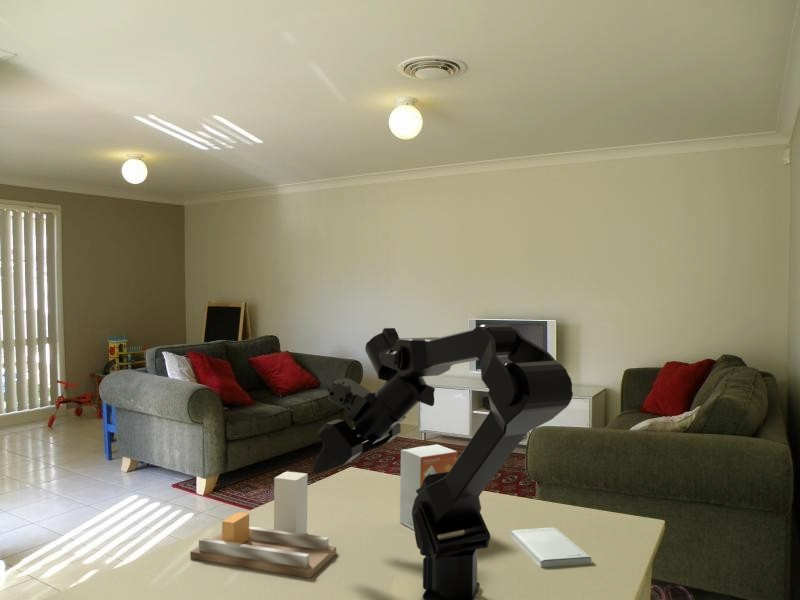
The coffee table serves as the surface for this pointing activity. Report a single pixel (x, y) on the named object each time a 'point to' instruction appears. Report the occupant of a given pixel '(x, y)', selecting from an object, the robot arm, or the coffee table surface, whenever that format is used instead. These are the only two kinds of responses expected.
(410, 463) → the small box
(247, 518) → the block
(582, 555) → the hard drive
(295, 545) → the rail board
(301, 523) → the block
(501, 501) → the coffee table surface
